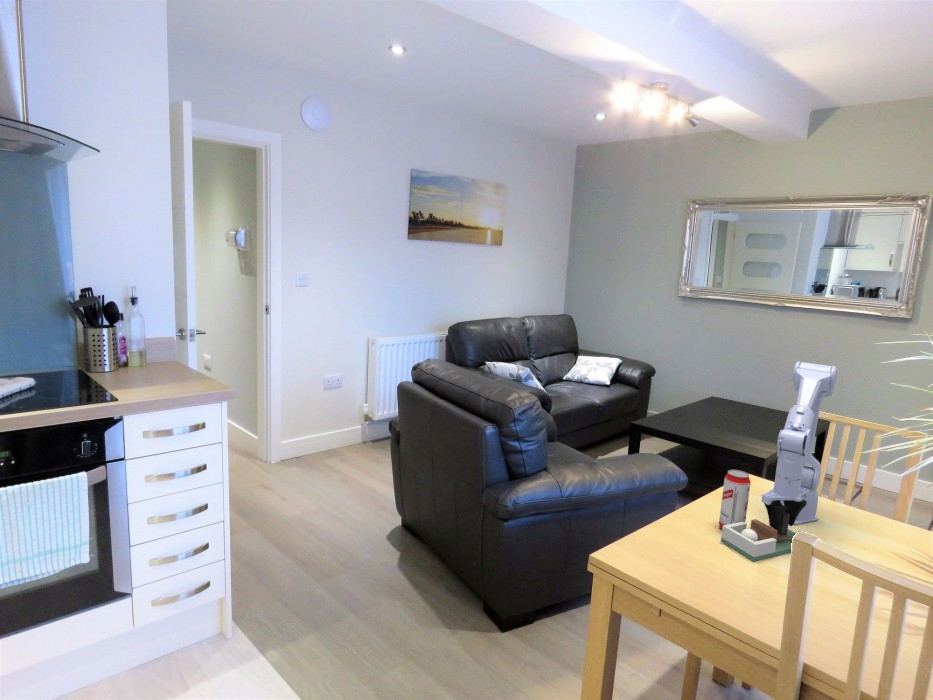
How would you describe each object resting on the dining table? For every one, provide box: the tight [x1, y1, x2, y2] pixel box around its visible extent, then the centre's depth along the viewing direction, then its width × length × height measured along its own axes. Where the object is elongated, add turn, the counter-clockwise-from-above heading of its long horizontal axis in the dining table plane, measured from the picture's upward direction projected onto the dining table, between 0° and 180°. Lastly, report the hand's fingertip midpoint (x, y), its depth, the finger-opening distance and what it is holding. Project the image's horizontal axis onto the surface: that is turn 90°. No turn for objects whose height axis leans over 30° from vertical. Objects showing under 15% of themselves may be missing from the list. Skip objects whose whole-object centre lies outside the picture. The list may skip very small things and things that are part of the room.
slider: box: [749, 512, 790, 542], centre depth 146 cm, size 8×6×6 cm
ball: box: [740, 528, 758, 542], centre depth 143 cm, size 4×4×4 cm
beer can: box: [718, 469, 752, 529], centre depth 152 cm, size 6×6×16 cm
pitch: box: [720, 521, 796, 562], centre depth 146 cm, size 21×10×4 cm, turn 113°
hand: (781, 525), depth 147 cm, fingers open, 5 cm apart
